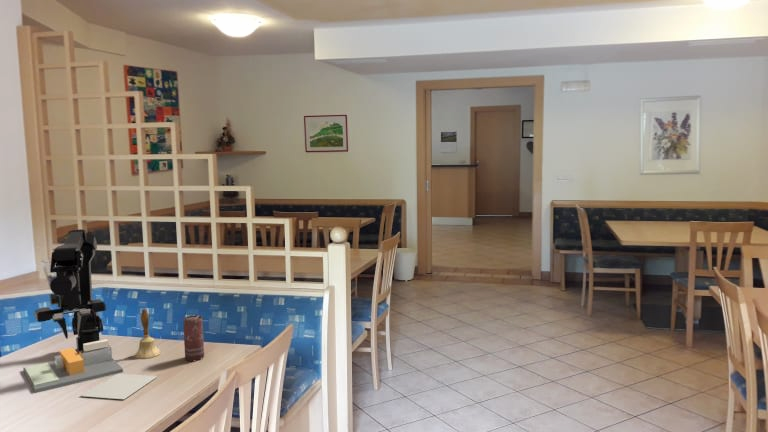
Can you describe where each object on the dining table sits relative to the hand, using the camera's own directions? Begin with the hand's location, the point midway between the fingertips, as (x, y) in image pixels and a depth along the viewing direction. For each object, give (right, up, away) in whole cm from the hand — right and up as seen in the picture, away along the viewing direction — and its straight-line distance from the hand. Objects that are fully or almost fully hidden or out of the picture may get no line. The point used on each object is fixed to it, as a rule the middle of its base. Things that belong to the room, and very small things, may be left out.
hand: (72, 337), depth 179 cm
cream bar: (+3, -5, +9) cm, 11 cm away
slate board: (-2, -12, +4) cm, 12 cm away
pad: (-9, -12, -1) cm, 15 cm away
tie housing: (0, -10, +7) cm, 12 cm away
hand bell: (+16, -10, +19) cm, 26 cm away
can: (+33, -10, +15) cm, 38 cm away
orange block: (-3, -11, +5) cm, 12 cm away
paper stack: (+22, -14, -13) cm, 30 cm away
